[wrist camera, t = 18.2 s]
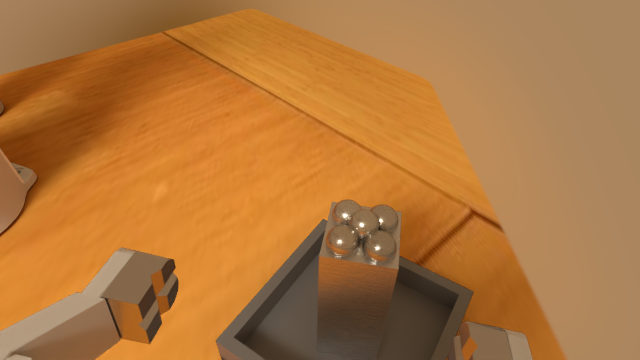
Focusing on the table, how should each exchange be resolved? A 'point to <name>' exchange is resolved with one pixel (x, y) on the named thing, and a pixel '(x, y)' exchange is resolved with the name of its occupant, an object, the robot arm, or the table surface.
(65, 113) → the table surface
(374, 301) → the ball-topped square pillar
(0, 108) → the travel mug
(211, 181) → the table surface
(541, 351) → the table surface
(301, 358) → the charcoal bin
